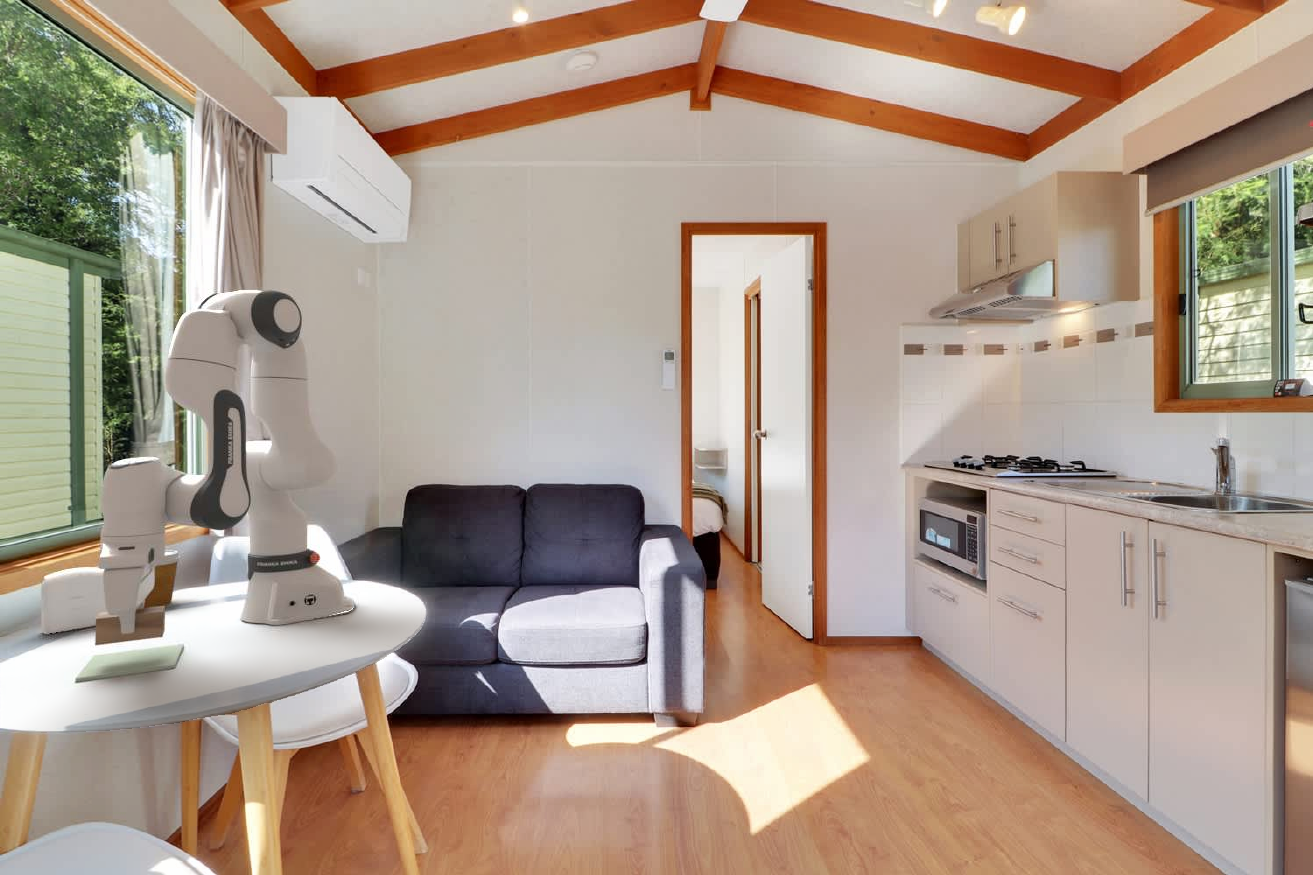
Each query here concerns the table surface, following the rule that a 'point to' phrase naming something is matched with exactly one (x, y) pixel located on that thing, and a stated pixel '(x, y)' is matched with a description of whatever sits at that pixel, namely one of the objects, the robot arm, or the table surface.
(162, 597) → the disposable coffee cup
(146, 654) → the rubber mat
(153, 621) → the box
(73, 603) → the photo printer
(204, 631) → the table surface
